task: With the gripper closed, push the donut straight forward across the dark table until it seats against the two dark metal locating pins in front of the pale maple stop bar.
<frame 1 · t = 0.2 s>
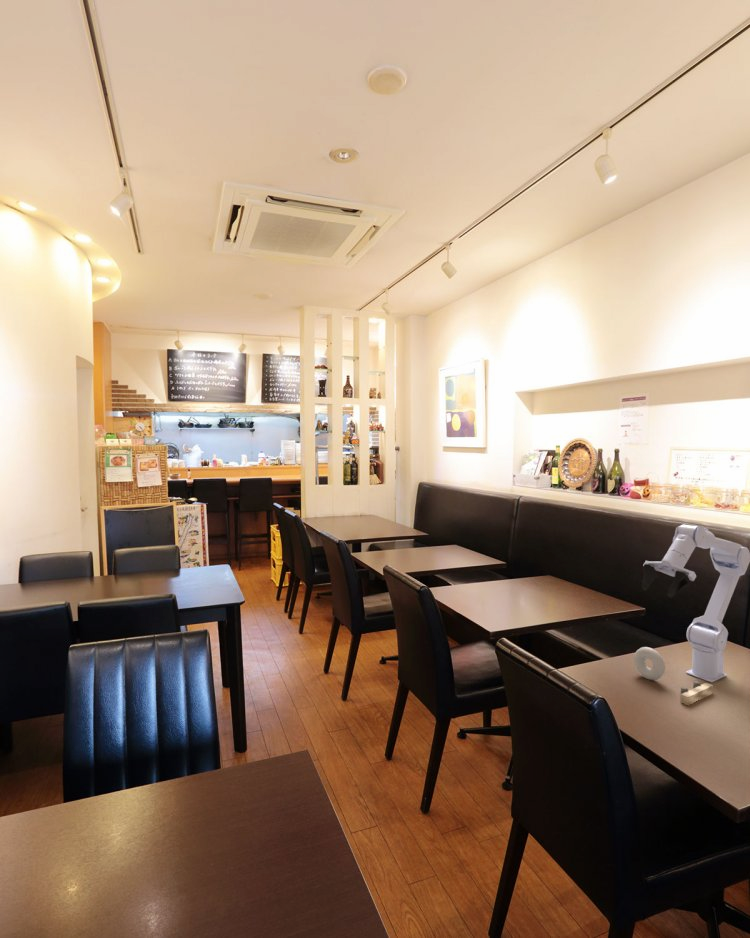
hand: (656, 591, 152), 31 cm above the table, tool tilted 45°, fingers open, 7 cm apart
locator: (664, 685, 161), on the table
donut: (648, 679, 165), on the table
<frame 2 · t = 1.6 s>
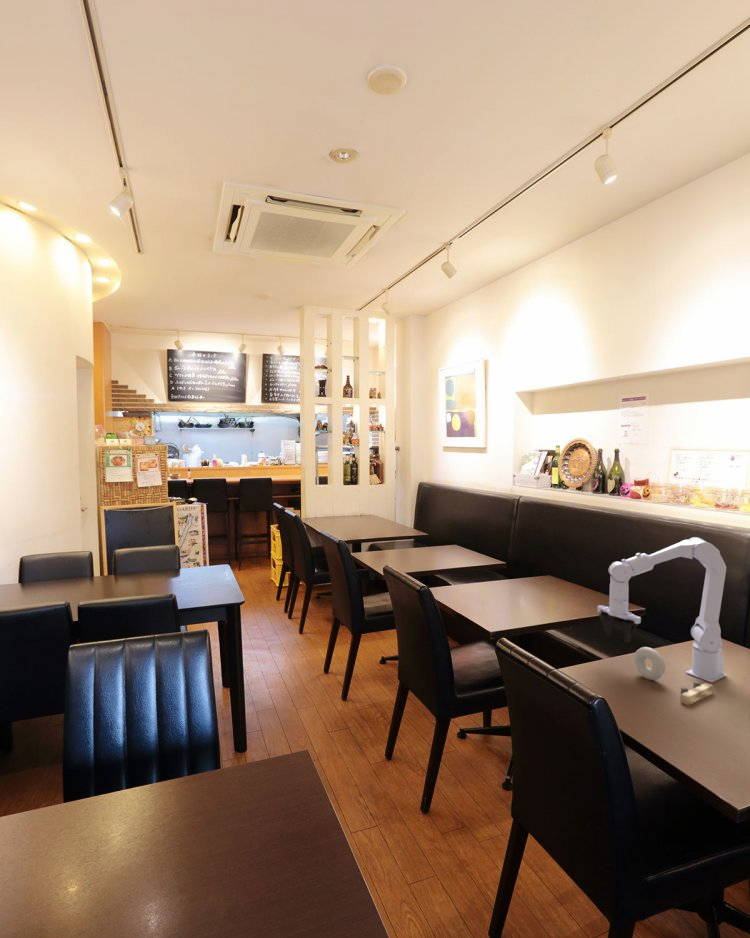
hand: (617, 638, 174), 9 cm above the table, tool pointing down, fingers open, 6 cm apart
nothing on the table moved.
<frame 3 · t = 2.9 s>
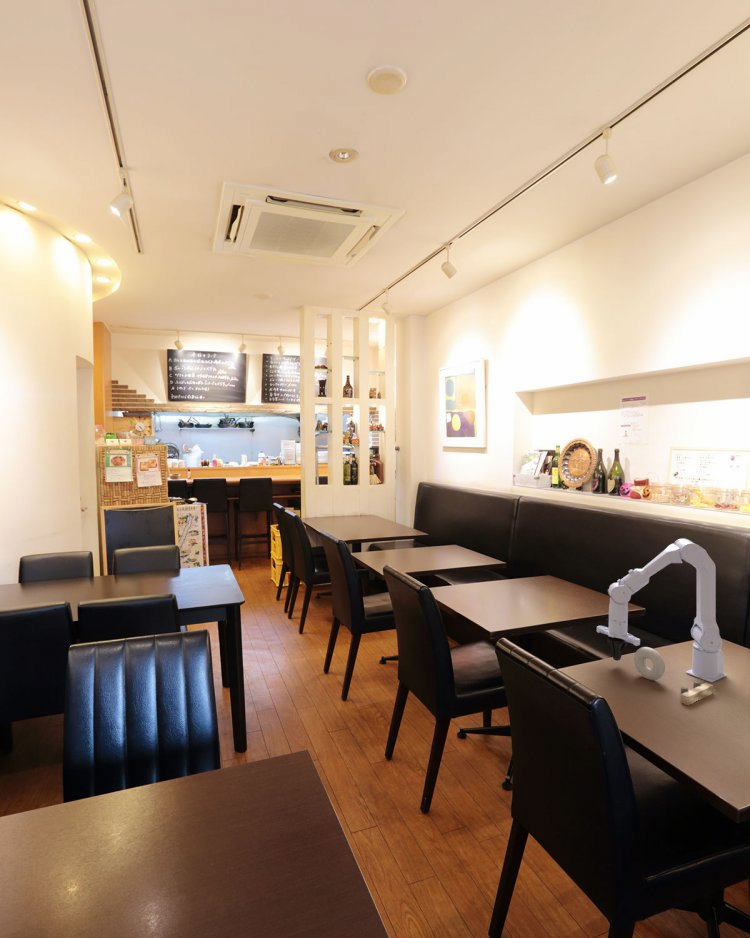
hand: (616, 659, 175), 2 cm above the table, tool pointing down, fingers closed
nothing on the table moved.
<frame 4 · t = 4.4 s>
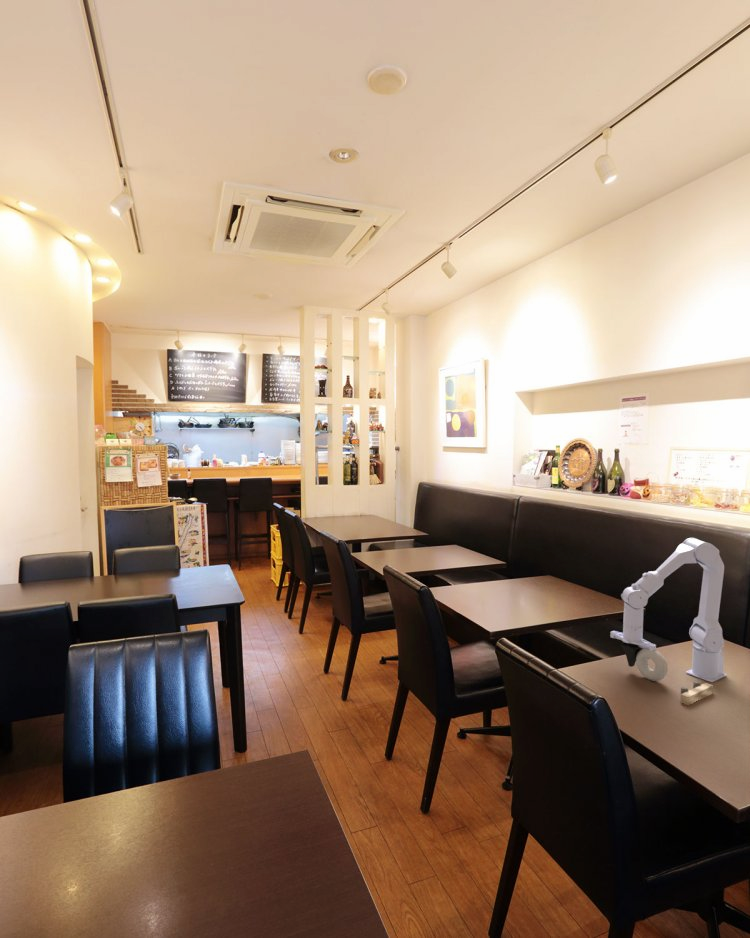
hand: (631, 665, 170), 2 cm above the table, tool pointing down, fingers closed
donut: (650, 680, 165), on the table, touching gripper
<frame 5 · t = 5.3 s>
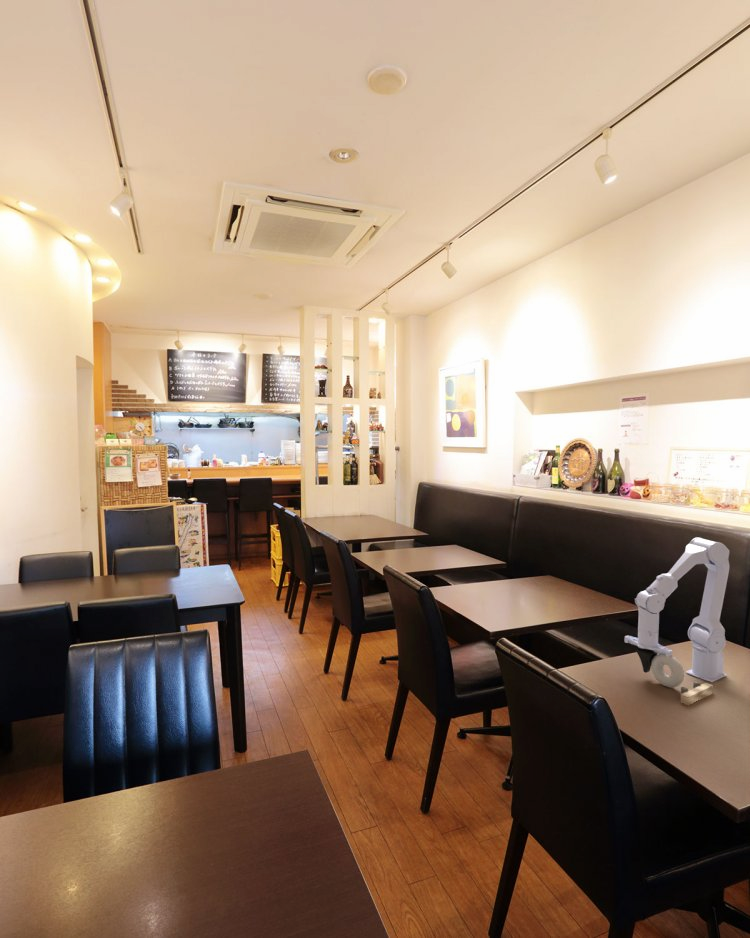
hand: (646, 671, 166), 2 cm above the table, tool pointing down, fingers closed
donut: (666, 686, 160), on the table, touching gripper
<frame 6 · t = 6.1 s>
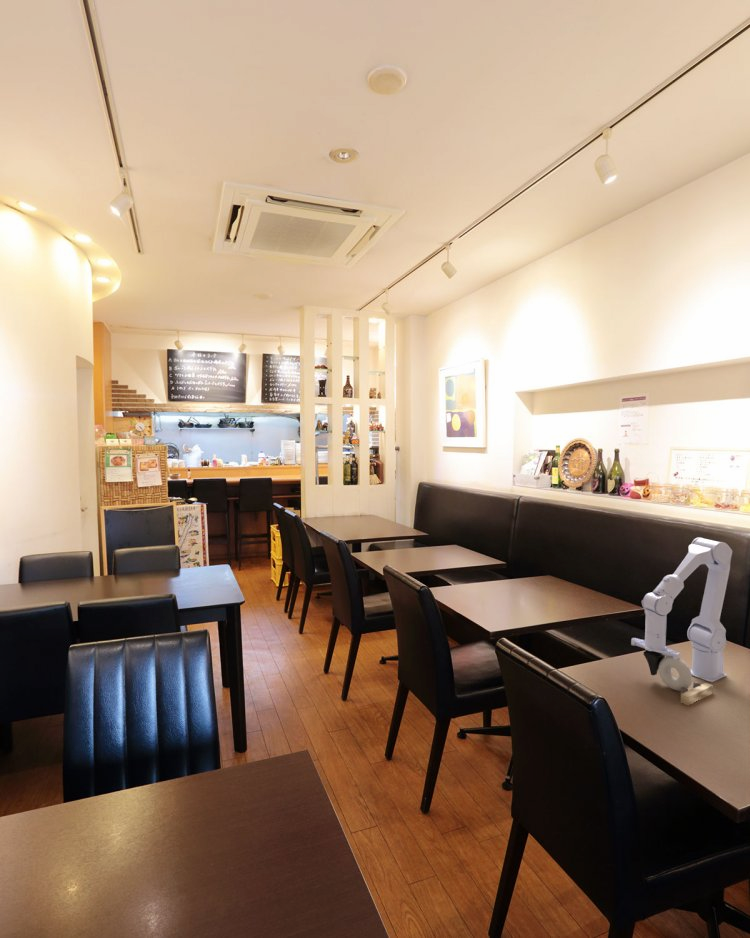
hand: (653, 674, 164), 2 cm above the table, tool pointing down, fingers closed
donut: (673, 689, 158), on the table, touching gripper
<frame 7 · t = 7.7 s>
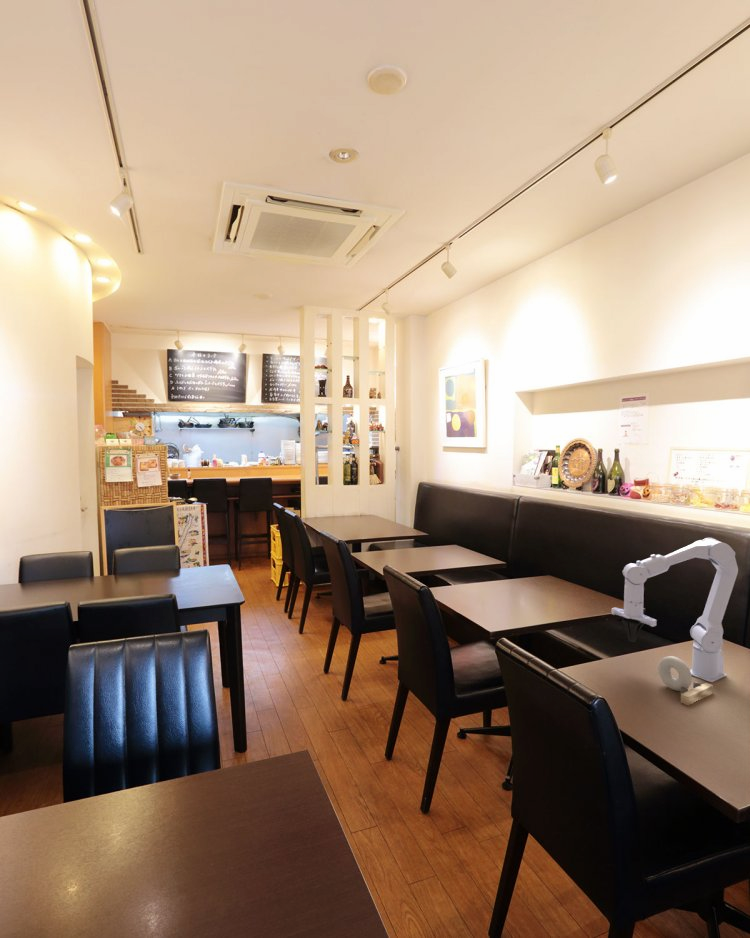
hand: (632, 641, 172), 9 cm above the table, tool pointing down, fingers closed
donut: (673, 690, 158), on the table
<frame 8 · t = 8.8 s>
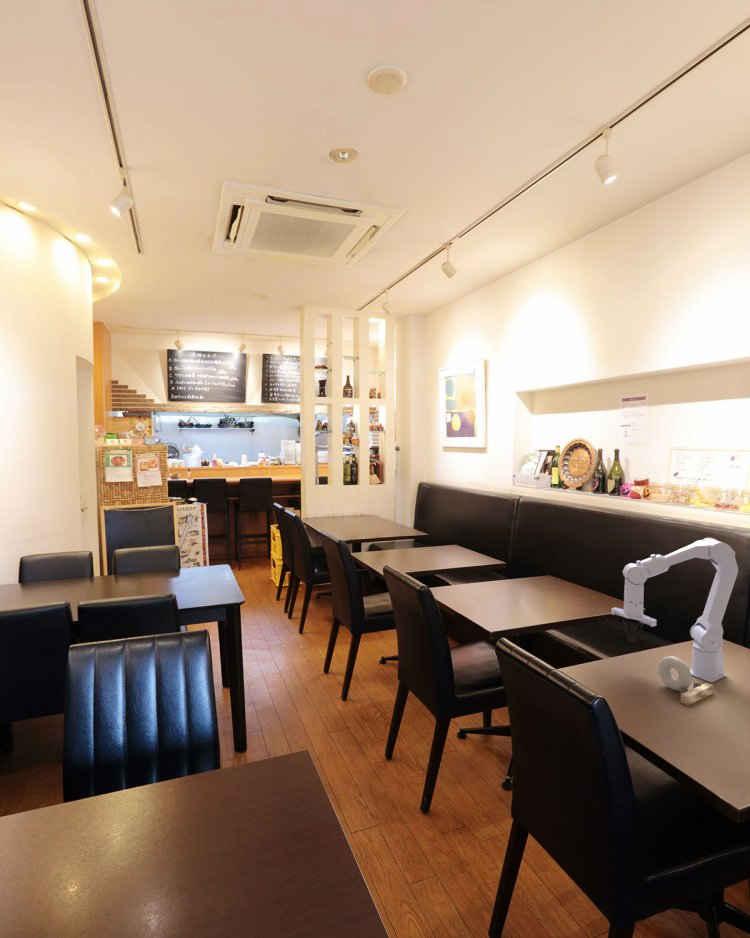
hand: (632, 641, 172), 9 cm above the table, tool pointing down, fingers closed
nothing on the table moved.
at the end: donut 0.2 cm from the target spot, on the table; donut tilted 0°; the gripper is holding nothing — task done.
